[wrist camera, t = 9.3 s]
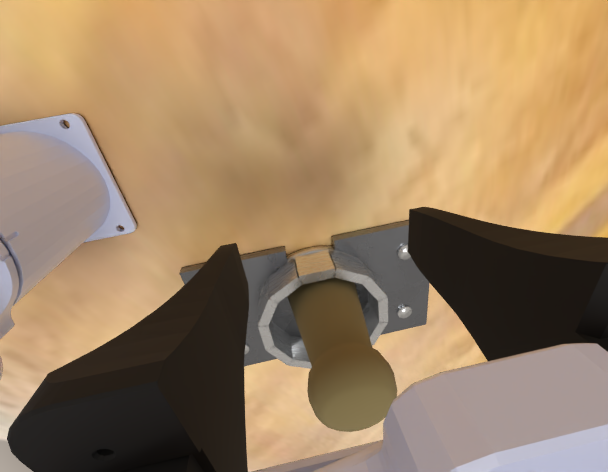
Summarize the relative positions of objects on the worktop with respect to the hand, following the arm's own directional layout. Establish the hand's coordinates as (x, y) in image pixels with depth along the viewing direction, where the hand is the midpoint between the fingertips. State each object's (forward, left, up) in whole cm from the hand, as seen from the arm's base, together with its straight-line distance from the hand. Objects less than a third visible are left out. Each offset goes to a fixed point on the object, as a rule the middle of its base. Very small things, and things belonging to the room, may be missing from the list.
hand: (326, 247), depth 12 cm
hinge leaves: (0, -12, -10) cm, 16 cm away
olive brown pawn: (0, -10, -10) cm, 14 cm away
